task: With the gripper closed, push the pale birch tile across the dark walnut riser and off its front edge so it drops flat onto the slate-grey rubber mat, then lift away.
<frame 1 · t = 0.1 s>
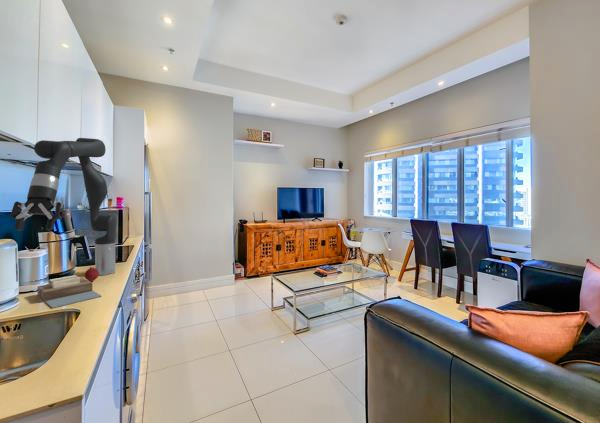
hand: (33, 230, 94), 31 cm above the worktop, tool tilted 20°, fingers open, 8 cm apart
mat: (74, 299, 112), on the worktop
tile: (64, 284, 119), point 4 cm above the worktop, touching deck
onion: (91, 281, 135), on the worktop
deck: (65, 293, 118), on the worktop
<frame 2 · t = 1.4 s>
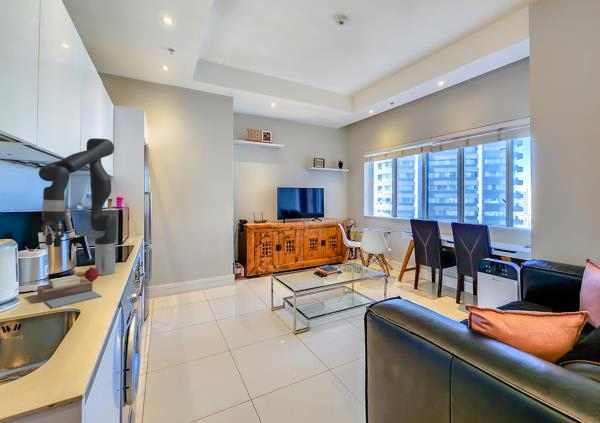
hand: (53, 246, 119), 21 cm above the worktop, tool pointing down, fingers open, 8 cm apart
nothing on the worktop moved.
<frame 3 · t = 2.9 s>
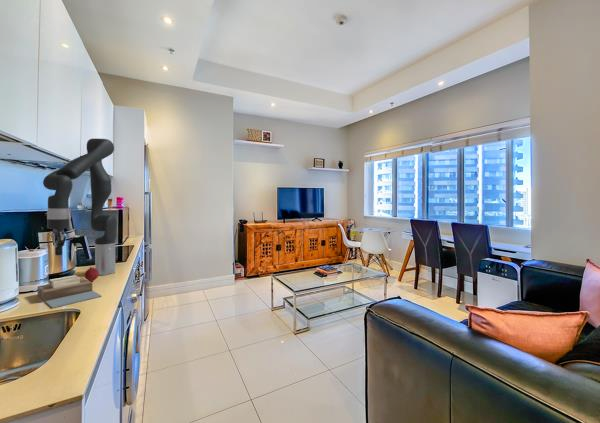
hand: (58, 255, 123), 16 cm above the worktop, tool pointing down, fingers closed
nothing on the worktop moved.
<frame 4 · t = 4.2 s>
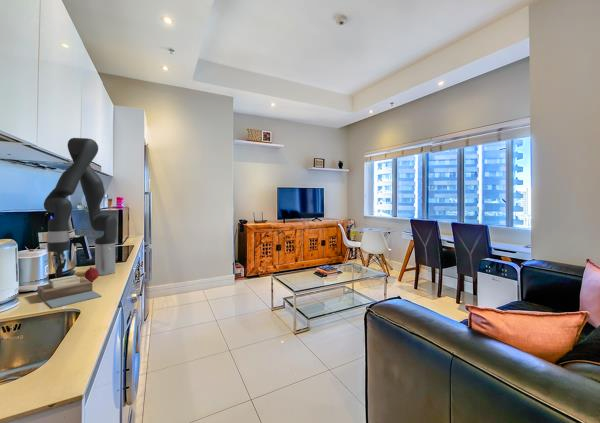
hand: (58, 277, 124), 6 cm above the worktop, tool pointing down, fingers closed
nothing on the worktop moved.
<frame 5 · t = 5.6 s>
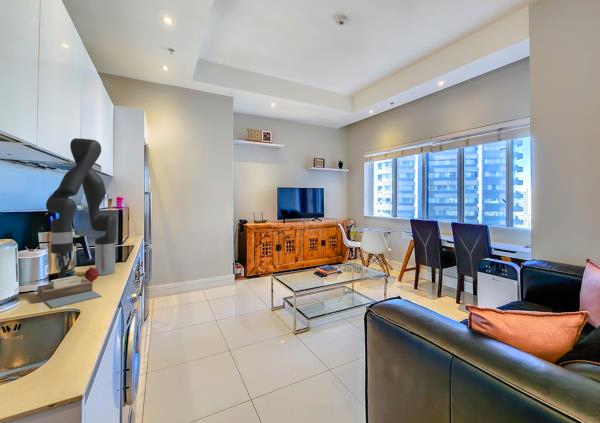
hand: (62, 279, 120), 6 cm above the worktop, tool pointing down, fingers closed
tile: (66, 284, 118), point 4 cm above the worktop, touching deck
everything else where it was.
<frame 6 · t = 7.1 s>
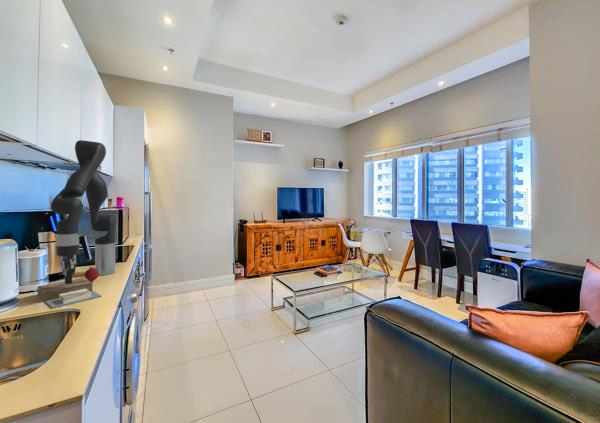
hand: (68, 283, 115), 6 cm above the worktop, tool pointing down, fingers closed
tile: (75, 293, 111), point 3 cm above the worktop, tilted 180°, touching mat
everything else where it was.
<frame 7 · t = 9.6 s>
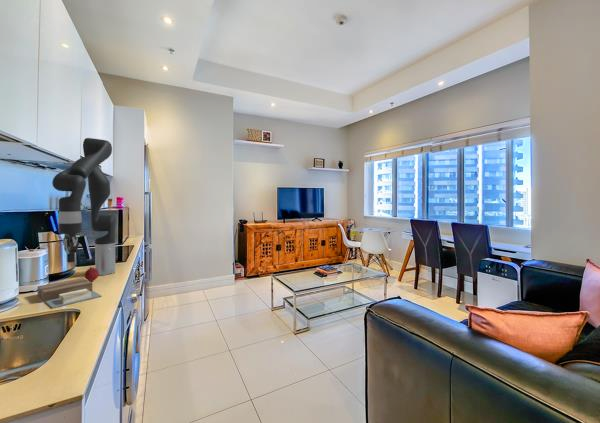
hand: (70, 261, 113), 16 cm above the worktop, tool pointing down, fingers closed
nothing on the worktop moved.
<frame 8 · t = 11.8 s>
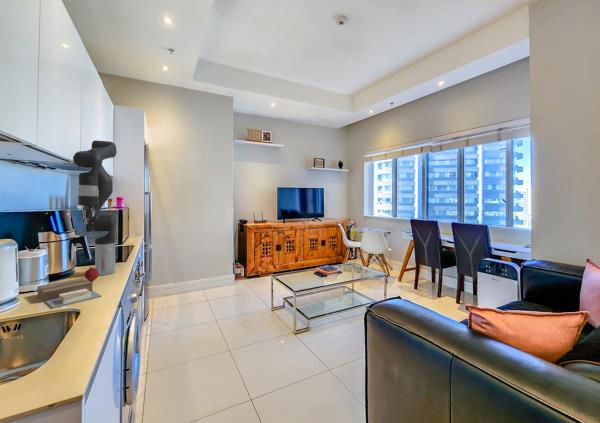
hand: (88, 231, 125), 27 cm above the worktop, tool pointing down, fingers closed
nothing on the worktop moved.
at the end: tile inside the target area (1.1 cm from its centre), point 3.0 cm above the worktop; tile touching mat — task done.
